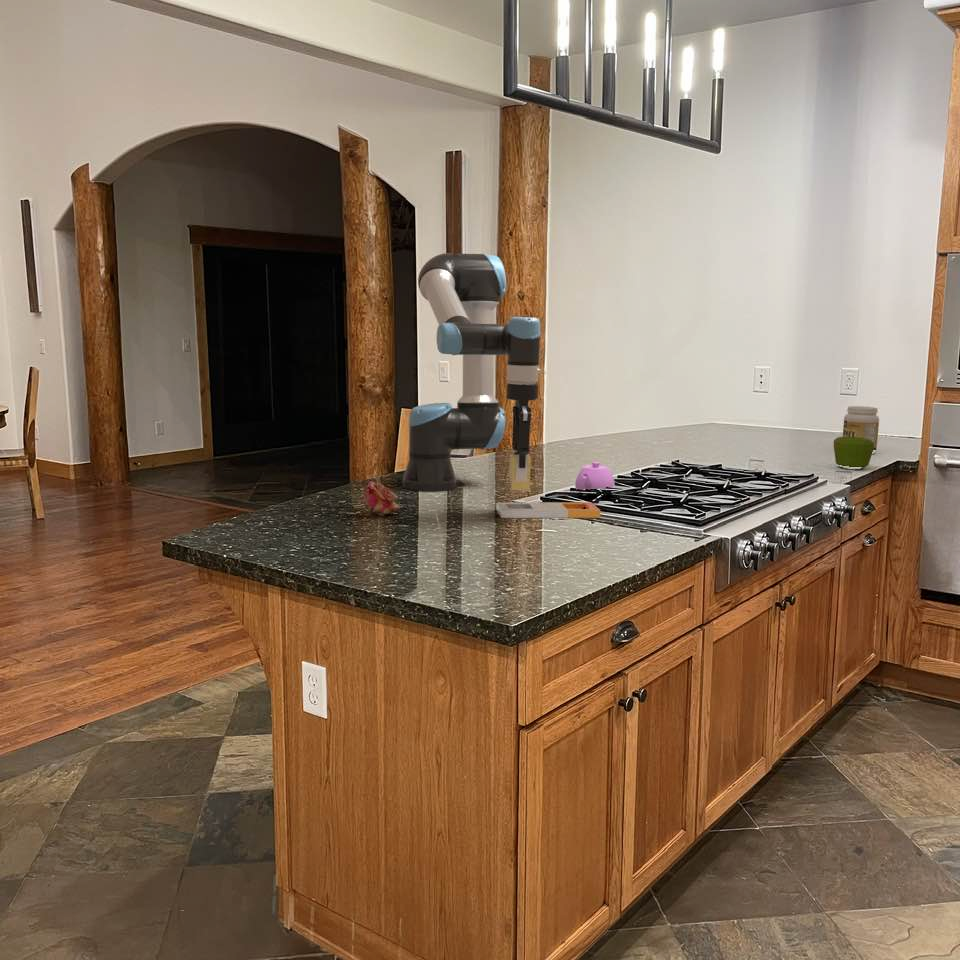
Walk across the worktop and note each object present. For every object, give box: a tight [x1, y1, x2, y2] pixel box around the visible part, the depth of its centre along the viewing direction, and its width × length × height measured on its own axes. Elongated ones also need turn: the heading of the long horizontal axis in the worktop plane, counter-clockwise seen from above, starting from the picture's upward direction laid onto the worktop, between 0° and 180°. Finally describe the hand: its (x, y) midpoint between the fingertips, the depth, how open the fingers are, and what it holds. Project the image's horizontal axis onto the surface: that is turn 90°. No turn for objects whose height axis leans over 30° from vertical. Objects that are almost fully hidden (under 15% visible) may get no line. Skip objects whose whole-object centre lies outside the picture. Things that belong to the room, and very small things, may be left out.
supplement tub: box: [842, 405, 880, 451], centre depth 361 cm, size 12×12×17 cm
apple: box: [833, 435, 874, 468], centre depth 323 cm, size 12×12×11 cm
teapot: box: [574, 461, 616, 489], centre depth 264 cm, size 10×15×9 cm
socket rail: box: [495, 501, 601, 519], centre depth 238 cm, size 24×10×2 cm, turn 96°
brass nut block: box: [508, 453, 532, 491], centre depth 236 cm, size 4×4×8 cm
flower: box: [363, 480, 402, 517], centre depth 236 cm, size 10×9×8 cm
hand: (519, 478), depth 236 cm, fingers closed on brass nut block, 4 cm apart
